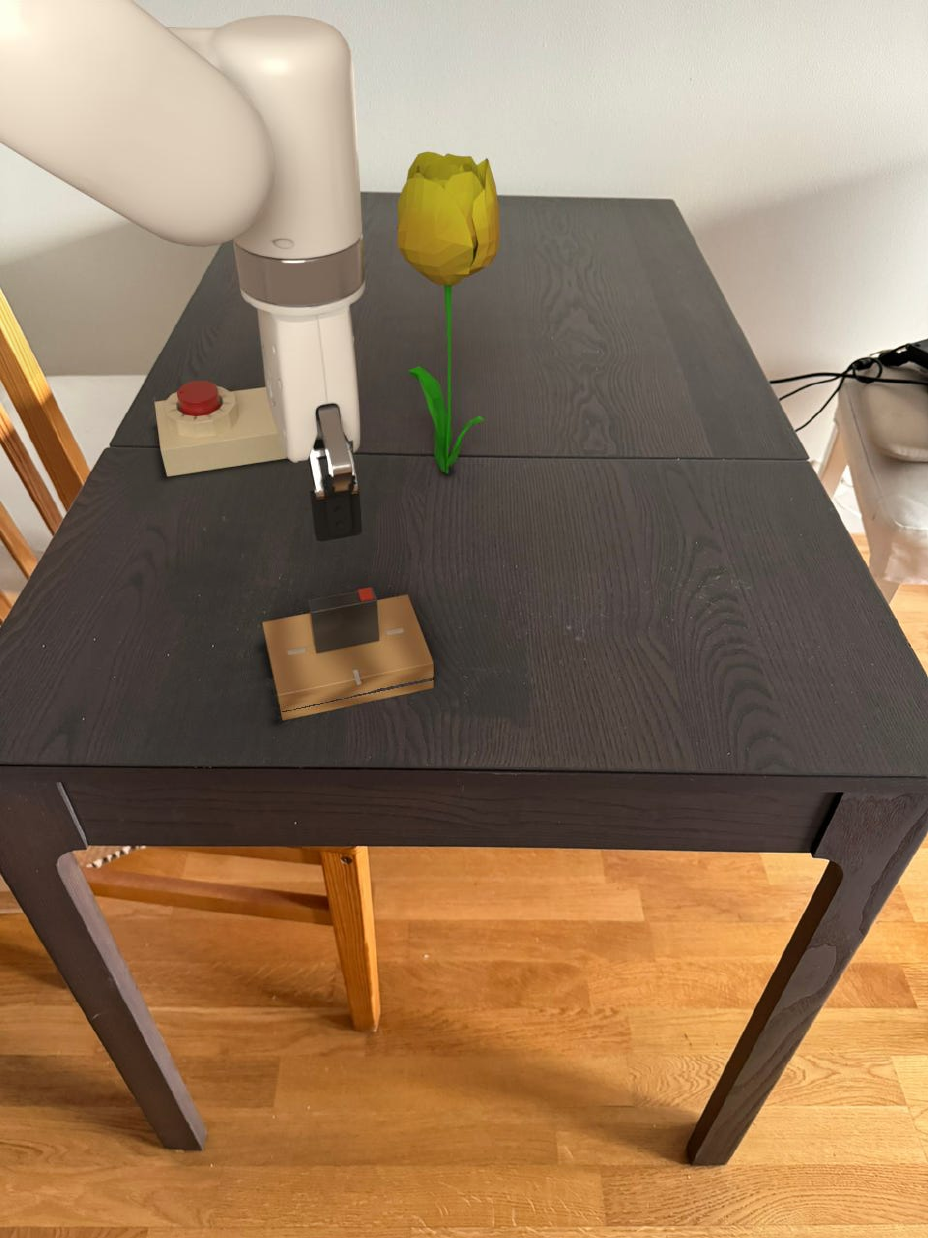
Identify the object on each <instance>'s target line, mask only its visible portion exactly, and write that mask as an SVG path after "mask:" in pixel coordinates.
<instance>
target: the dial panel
mask: <svg viewBox="0 0 928 1238" xmlns="http://www.w3.org/2000/svg"><path fill="white" fill-rule="evenodd" d="M413 607H414V606H413V605H412V602H411V600H410V597H409V594H402V595H398V596H392V597H387V598H381V599H377V610H378V627H379V641H377V642H372V643H367V644H362V645H357V646H352V647H347V648H342V649H338V650H333V651H328V652H323V653H318V654H317V653H316V650H315V647H314V643H313V636H312V629H311V621H310V614H309V613H303V614H299V615H293V616H288V617H283V618H282V617H281V618H278V619H271V620H267V621H262V623H261V624H262V629H263V634H264V641H265V646H266V650H267V654H268V659H269V664H270V669H271V675H272V679H273V683H274V687H275V693H276V697H277V701H278V707H279V711H280V716H281V720H282V721H287V720H293V719H297V718H301V717H306V716H311V715H315V714H319V713H326V712H328V711H329V712H330V711H334V710H339V709H343V708H348V707H352V706H357V705H362V704H367V703H371V702H375V701H381V700H385V699H390V698H394V697H399V696H404V695H408V694H412V693H417V692H421V691H426V690H427V691H428V690H432V689H434V687H435V686H434V685H435V681H434V680H435V679H434V680H432V681H427V682H423V683H418V684H413V685H409V686H404V687H399V688H394V689H390V690H385V691H380V692H376V693H371V694H366V695H362V696H357V697H352V698H348V699H344V698H347V697H351V696H354V695H357V694H363V693H368V692H371V691H374V690H377V689H380V688H387V687H390V686H396V685H399V684H405V683H408V682H414V681H420V680H423V679H429V678H433V677H435V676H434V675H435V674H434V673H435V670H434V669H435V666H434V665H435V663H434V660H433V657H432V655H431V652H430V649H429V647H428V645H427V641H426V638H425V636H424V633H423V631H422V629H421V625H420V623H419V620H418V617H417V615H416V613H415V609H414V608H413ZM276 691H277V692H276ZM336 699H343V700H338V701H334V702H329V701H332V700H336ZM325 702H329V703H325ZM320 703H324V704H320ZM313 704H320V705H315V706H310V707H306V708H301V707H305V706H309V705H313ZM279 705H280V706H279ZM296 708H301V709H296ZM293 709H296V710H293ZM286 710H292V711H287V712H282V711H286Z"/></svg>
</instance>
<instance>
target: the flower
mask: <svg viewBox="0 0 928 1238" xmlns="http://www.w3.org/2000/svg"><path fill="white" fill-rule="evenodd" d="M497 192H498V191H497V185H496V182H495V178H494V175H493V171H492V168H491V163H490V160H489V159H488V158H487V157H486V158H485V159H484V160H482V161H481V162H479V163H478V164H477V163H476V161H475V160H474V159H473V157H472V156H471V155H466V156H463V155H455V154H452V153H448V152H447V153H445V154H444V155H442V154H440V153H437V152H433V151H425V152H420V153H418V154H417V155H416V156H415V157H414V160H413V162H412V163H411V165H410V167H409V168H408V170H407V176H406V181H405V184H404V186H403V187H402V189H401V193H400V195H399V198H398V201H397V221H398V222H397V227H396V232H397V247H398V250H399V252H400V254H401V255H402V257H403V259H404V260H405V262H407V263H408V264H409V265H410V266H411V267H412V268H413V269H414V270H416V272H418V273H419V274H421V275H422V276H423V277H424V278H425V279H428V280H429V281H430V282H432V283H434V284H435V285H436V286H437V285H438V286H443V288H444V289H443V290H444V301H445V302H444V303H445V315H446V316H445V317H446V342H447V345H446V346H447V400H446V401H447V404H446V405H447V407H446V406H445V399H444V394H443V391H442V388H441V384H440V383H439V382H438V381H437V380H436V379H435V378H434V377H433V376H432V375H431V374H430V373H429V372H428V371H427V370H426V369H424V368H422V367H421V366H417V367H414V368H412V369H408V370H407V373H408V374H410V375H411V376H412V377H413V378H415V379H416V380H417V381H419V383H420V385H421V388H422V391H423V393H424V396H425V399H426V402H427V403H426V404H427V406H428V410H429V413H430V415H431V417H432V420H433V430H434V431H433V432H434V435H433V436H434V437H433V438H434V444H433V445H434V447H433V448H434V450H433V456H434V459H435V462H436V464H437V466H438V468H439V470H440V471H441V472H443V473H445V474H449V468H450V467H451V466H452V465H454V463H455V462H456V461H457V460H458V458H459V455H460V451H461V447H462V443H463V439H464V436H465V434H466V432H467V430H468V429H469V428H470V427H472V425H474V424H477V423H480V422H483V421H485V419H484V418H482V416H480V415H478V416H477V417H474V418H473V419H470V420H469V421H468V422H467V423H466V424H465V426H463V429H462V431H461V433H460V434H459V436H458V438H457V440H456V441H455V443H454V446H453V449H452V452H451V454H450V449H451V445H452V441H453V430H452V427H451V422H452V381H451V380H452V375H451V373H452V371H451V370H452V369H451V368H452V367H451V365H452V364H451V363H452V361H451V359H452V357H451V356H452V354H451V353H452V346H451V345H452V291H453V289H452V287H453V286H457V285H458V284H461V282H462V281H463V280H464V279H465V278H469V277H470V276H472V275H475V274H477V273H479V272H481V271H482V270H483V269H485V268H488V266H490V265H491V264H493V261H494V260H495V258H496V256H497V253H498V252H499V248H500V231H501V230H500V229H501V228H500V227H501V226H500V208H499V201H498V193H497ZM446 409H447V410H446Z"/></svg>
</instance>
